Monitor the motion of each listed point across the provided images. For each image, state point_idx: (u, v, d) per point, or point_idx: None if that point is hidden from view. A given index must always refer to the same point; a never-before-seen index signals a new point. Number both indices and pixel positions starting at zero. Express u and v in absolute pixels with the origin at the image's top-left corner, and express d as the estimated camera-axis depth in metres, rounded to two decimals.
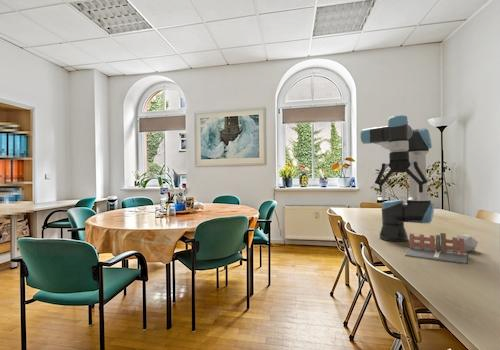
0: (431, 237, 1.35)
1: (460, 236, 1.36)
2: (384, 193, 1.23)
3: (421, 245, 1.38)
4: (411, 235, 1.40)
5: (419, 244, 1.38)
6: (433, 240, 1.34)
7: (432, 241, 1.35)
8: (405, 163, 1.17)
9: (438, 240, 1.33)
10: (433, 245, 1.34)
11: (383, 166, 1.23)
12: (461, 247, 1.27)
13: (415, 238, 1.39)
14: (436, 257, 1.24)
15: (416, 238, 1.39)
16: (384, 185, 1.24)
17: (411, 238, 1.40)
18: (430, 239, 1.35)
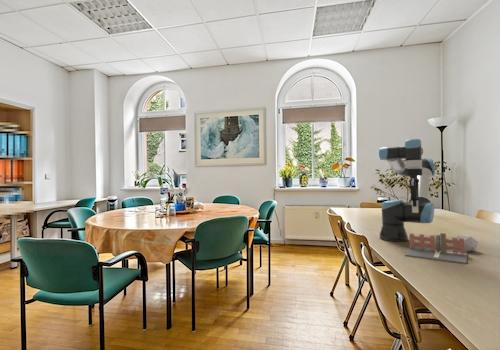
0: (431, 237, 1.35)
1: (460, 236, 1.36)
2: None
3: (421, 245, 1.38)
4: (411, 235, 1.40)
5: (419, 244, 1.38)
6: (433, 240, 1.34)
7: (432, 241, 1.35)
8: None
9: (438, 240, 1.33)
10: (433, 245, 1.34)
11: None
12: (461, 247, 1.27)
13: (415, 238, 1.39)
14: (436, 257, 1.24)
15: (416, 238, 1.39)
16: None
17: (411, 238, 1.40)
18: (430, 239, 1.35)
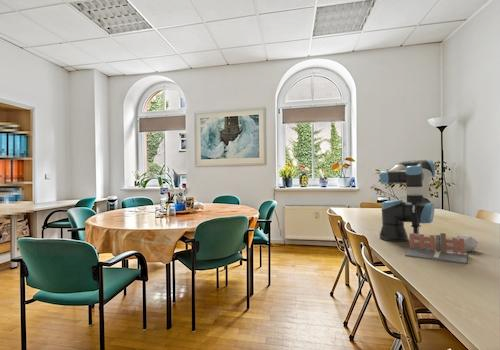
0: (431, 237, 1.35)
1: (460, 236, 1.36)
2: None
3: (421, 245, 1.38)
4: (411, 235, 1.40)
5: (419, 244, 1.38)
6: (433, 240, 1.34)
7: (432, 241, 1.35)
8: None
9: (438, 240, 1.33)
10: (433, 245, 1.34)
11: None
12: (461, 247, 1.27)
13: (415, 238, 1.39)
14: (436, 257, 1.24)
15: (416, 238, 1.39)
16: None
17: (411, 238, 1.40)
18: (430, 239, 1.35)
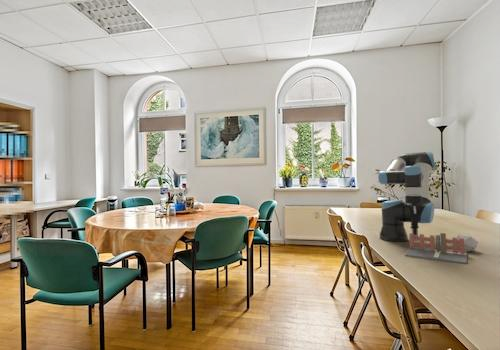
0: (431, 237, 1.35)
1: (460, 236, 1.36)
2: (414, 235, 1.42)
3: (421, 245, 1.38)
4: (411, 235, 1.40)
5: (419, 244, 1.38)
6: (433, 240, 1.34)
7: (432, 241, 1.35)
8: (411, 205, 1.40)
9: (438, 240, 1.33)
10: (433, 245, 1.34)
11: None
12: (461, 247, 1.27)
13: (415, 238, 1.39)
14: (436, 257, 1.24)
15: (416, 238, 1.39)
16: None
17: (411, 238, 1.40)
18: (430, 239, 1.35)
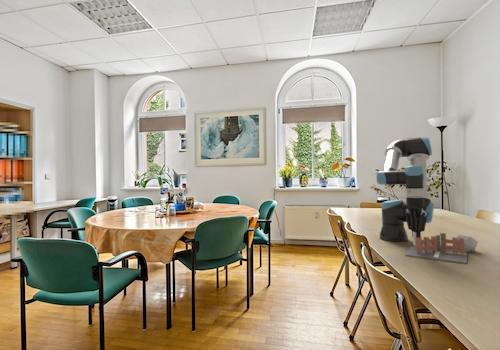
0: (434, 238, 1.33)
1: (460, 236, 1.36)
2: None
3: (427, 248, 1.32)
4: (419, 239, 1.31)
5: (426, 247, 1.31)
6: (436, 241, 1.33)
7: (435, 242, 1.33)
8: (418, 208, 1.31)
9: (439, 240, 1.33)
10: (436, 246, 1.33)
11: (405, 212, 1.39)
12: (461, 247, 1.27)
13: (422, 242, 1.31)
14: (436, 257, 1.24)
15: (423, 241, 1.31)
16: None
17: (419, 243, 1.31)
18: (434, 240, 1.33)
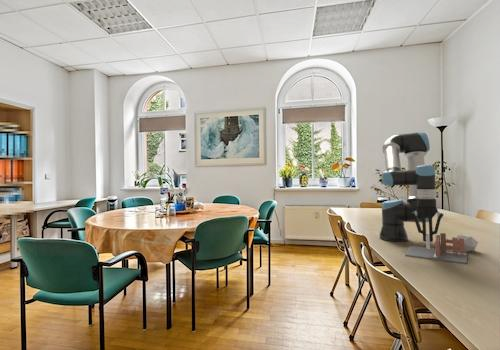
0: (439, 238, 1.31)
1: (460, 236, 1.36)
2: None
3: (439, 250, 1.28)
4: (439, 242, 1.24)
5: (439, 250, 1.27)
6: (439, 241, 1.32)
7: (439, 242, 1.32)
8: (434, 209, 1.26)
9: None
10: (439, 246, 1.32)
11: (414, 215, 1.30)
12: (461, 247, 1.27)
13: None
14: (436, 257, 1.24)
15: None
16: (427, 234, 1.28)
17: (438, 246, 1.24)
18: (439, 241, 1.31)
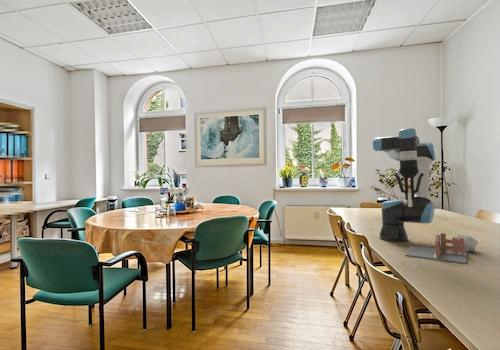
0: (439, 238, 1.31)
1: (460, 236, 1.36)
2: None
3: (439, 250, 1.28)
4: (439, 242, 1.24)
5: (439, 250, 1.27)
6: (439, 241, 1.32)
7: (439, 242, 1.32)
8: (415, 169, 1.34)
9: None
10: (439, 246, 1.32)
11: (397, 176, 1.39)
12: (461, 247, 1.27)
13: None
14: (436, 257, 1.24)
15: None
16: (409, 193, 1.37)
17: (438, 246, 1.24)
18: (439, 241, 1.31)
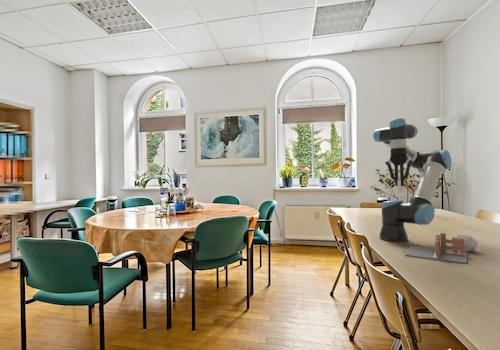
0: (439, 238, 1.31)
1: (460, 236, 1.36)
2: None
3: (439, 250, 1.28)
4: (439, 242, 1.24)
5: (439, 250, 1.27)
6: (439, 241, 1.32)
7: (439, 242, 1.32)
8: (404, 157, 1.42)
9: None
10: (439, 246, 1.32)
11: (387, 163, 1.47)
12: (461, 247, 1.27)
13: None
14: (436, 257, 1.24)
15: None
16: (399, 180, 1.45)
17: (438, 246, 1.24)
18: (439, 241, 1.31)
